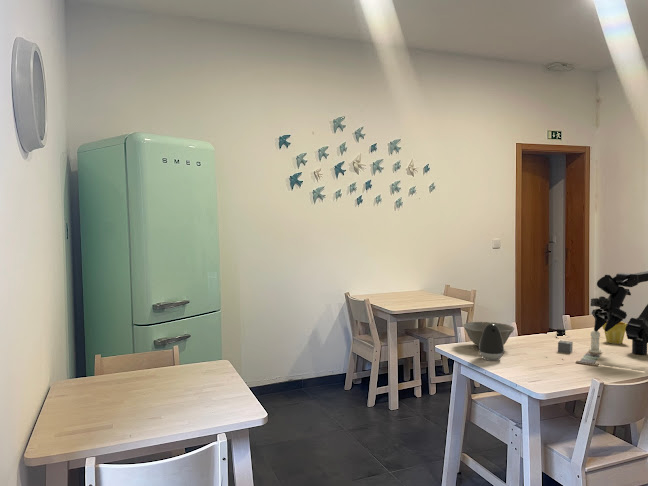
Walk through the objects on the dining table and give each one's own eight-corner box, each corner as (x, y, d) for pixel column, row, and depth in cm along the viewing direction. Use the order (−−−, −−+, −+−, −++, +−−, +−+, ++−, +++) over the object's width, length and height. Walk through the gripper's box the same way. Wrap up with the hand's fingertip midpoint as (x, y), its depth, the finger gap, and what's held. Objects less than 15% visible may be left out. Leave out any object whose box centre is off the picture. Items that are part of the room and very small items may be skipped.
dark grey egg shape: (482, 362, 208) (482, 325, 207) (475, 355, 218) (476, 321, 218) (507, 362, 207) (507, 326, 207) (499, 356, 218) (500, 321, 217)
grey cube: (560, 351, 228) (560, 340, 227) (572, 352, 225) (572, 341, 224) (557, 353, 223) (558, 342, 223) (570, 355, 221) (570, 343, 220)
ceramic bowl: (454, 347, 233) (454, 326, 232) (476, 339, 250) (477, 319, 249) (500, 356, 218) (500, 333, 217) (521, 347, 234) (521, 326, 234)
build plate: (563, 340, 250) (563, 331, 250) (548, 338, 256) (548, 329, 255) (572, 337, 259) (572, 328, 259) (557, 334, 264) (557, 326, 264)
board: (586, 350, 228) (586, 349, 228) (606, 353, 223) (606, 352, 223) (575, 363, 207) (575, 361, 207) (597, 366, 202) (597, 364, 202)
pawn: (589, 350, 226) (590, 328, 225) (601, 352, 223) (602, 330, 222) (588, 352, 222) (588, 330, 221) (600, 354, 219) (600, 331, 219)
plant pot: (597, 340, 248) (597, 321, 248) (613, 339, 251) (613, 320, 251) (615, 345, 238) (615, 325, 238) (631, 344, 242) (632, 324, 241)
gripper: (588, 291, 227) (573, 322, 225) (608, 288, 209) (592, 321, 207) (611, 304, 225) (596, 334, 223) (634, 301, 207) (618, 334, 205)
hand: (600, 331), depth 215 cm, fingers open, 9 cm apart
